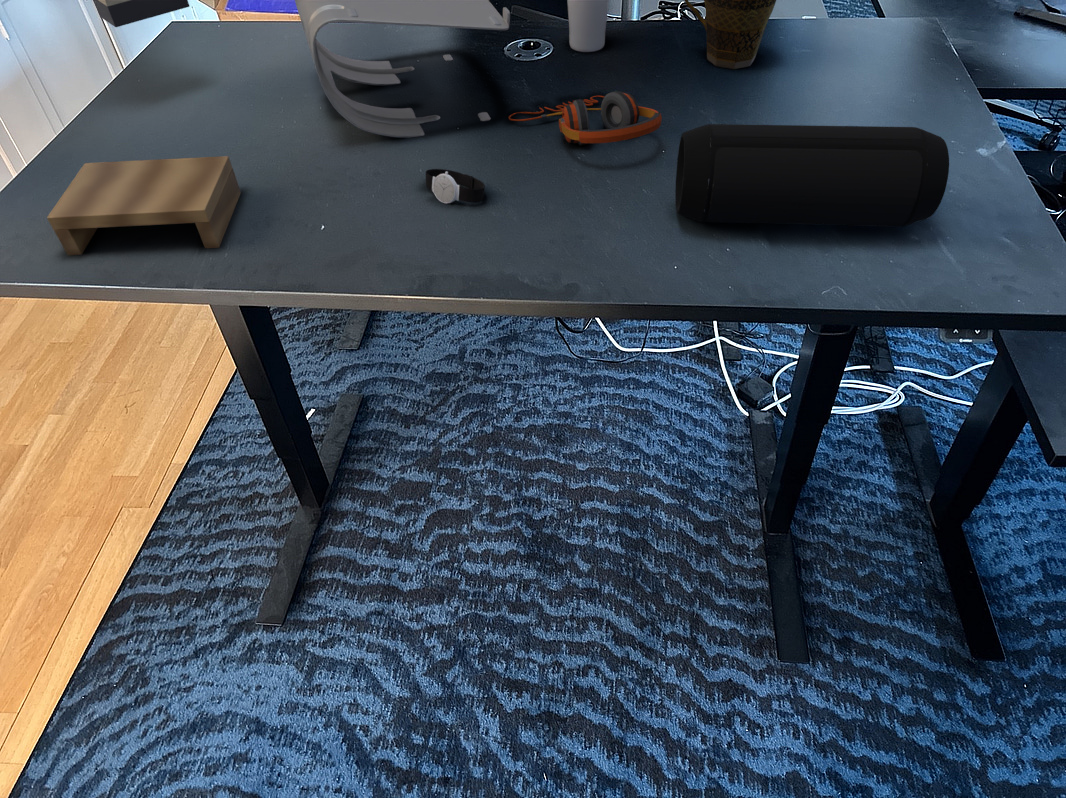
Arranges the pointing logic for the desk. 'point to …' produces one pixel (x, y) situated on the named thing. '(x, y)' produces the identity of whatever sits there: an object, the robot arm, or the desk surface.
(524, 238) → the desk surface
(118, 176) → the display stand
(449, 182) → the watch
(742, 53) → the ceramic cup
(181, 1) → the shoe
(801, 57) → the desk surface
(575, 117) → the headphones
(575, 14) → the white tapered cylinder
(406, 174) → the desk surface
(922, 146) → the portable speaker
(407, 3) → the laptop stand
